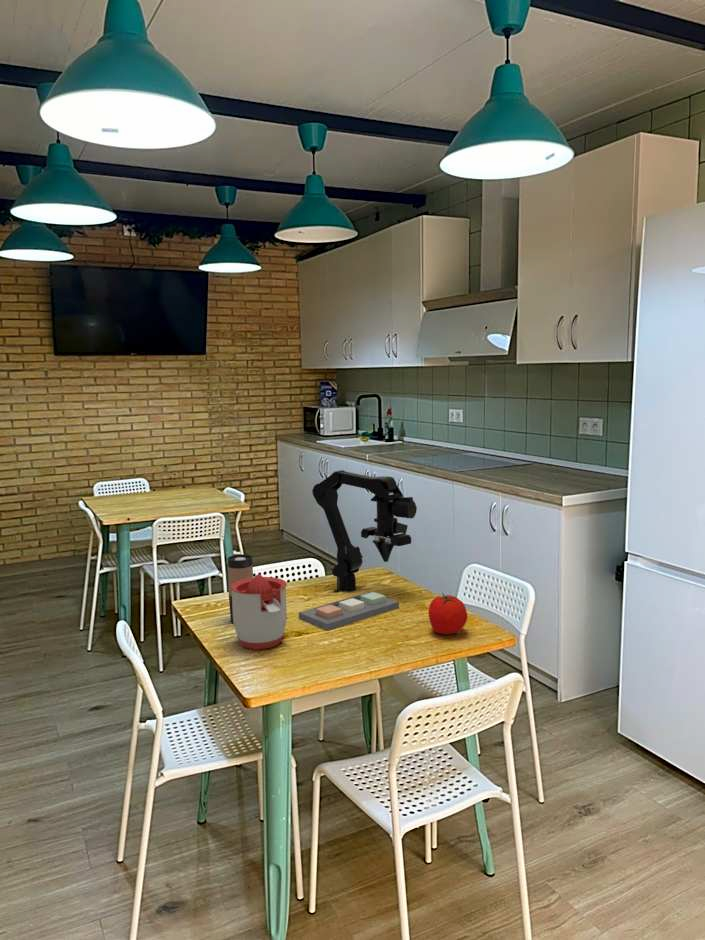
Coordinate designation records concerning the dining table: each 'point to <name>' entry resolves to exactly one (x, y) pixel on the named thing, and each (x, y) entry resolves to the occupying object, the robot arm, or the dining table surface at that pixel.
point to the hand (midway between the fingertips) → (385, 561)
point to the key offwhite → (351, 605)
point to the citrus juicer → (259, 611)
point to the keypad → (347, 613)
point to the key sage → (373, 598)
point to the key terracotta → (329, 612)
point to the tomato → (447, 614)
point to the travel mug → (238, 573)
